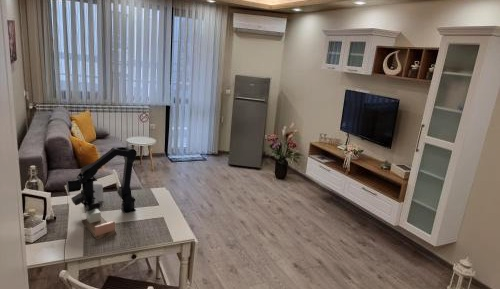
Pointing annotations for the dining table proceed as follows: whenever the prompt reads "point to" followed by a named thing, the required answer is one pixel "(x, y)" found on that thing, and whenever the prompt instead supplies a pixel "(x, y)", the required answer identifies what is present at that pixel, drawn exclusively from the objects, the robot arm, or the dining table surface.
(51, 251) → the dining table surface
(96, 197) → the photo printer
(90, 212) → the pale sage green cube
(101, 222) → the brown boxy piece
